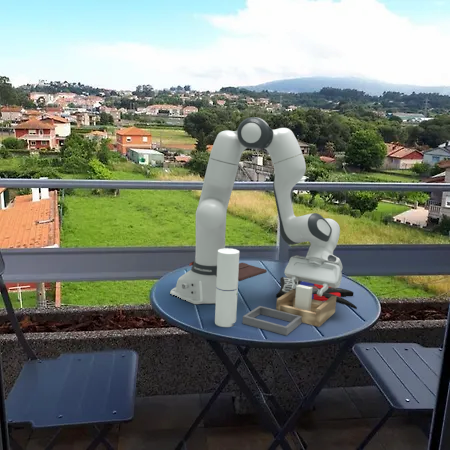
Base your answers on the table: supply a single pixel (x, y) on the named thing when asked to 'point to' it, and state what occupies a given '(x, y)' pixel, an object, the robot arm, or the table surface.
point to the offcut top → (314, 303)
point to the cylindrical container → (226, 287)
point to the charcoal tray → (284, 330)
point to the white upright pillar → (303, 297)
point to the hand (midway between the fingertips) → (306, 292)
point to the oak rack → (308, 317)
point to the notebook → (248, 271)
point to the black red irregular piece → (287, 284)
